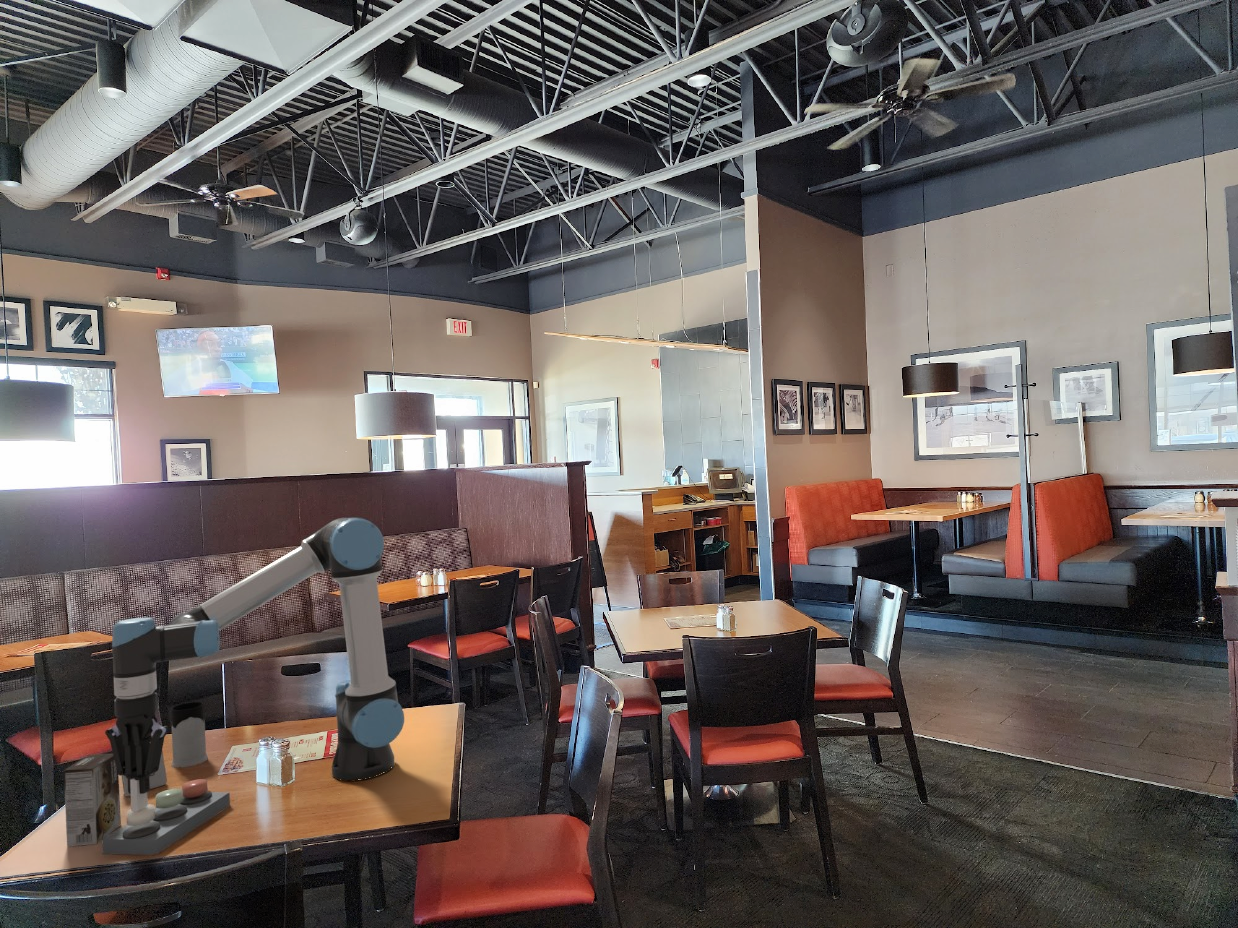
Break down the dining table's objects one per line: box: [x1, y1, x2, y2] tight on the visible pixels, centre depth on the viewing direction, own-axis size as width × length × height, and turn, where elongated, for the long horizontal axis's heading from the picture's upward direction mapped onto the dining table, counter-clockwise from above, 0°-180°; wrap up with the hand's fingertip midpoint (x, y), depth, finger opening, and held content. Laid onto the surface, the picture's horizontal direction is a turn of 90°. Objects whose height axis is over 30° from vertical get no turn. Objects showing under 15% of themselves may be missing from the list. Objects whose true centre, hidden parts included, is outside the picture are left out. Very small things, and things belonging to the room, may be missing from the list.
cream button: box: [126, 803, 156, 826], centre depth 158 cm, size 5×5×2 cm
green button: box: [155, 788, 183, 809], centre depth 166 cm, size 5×5×2 cm
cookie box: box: [63, 752, 122, 847], centre depth 164 cm, size 9×6×16 cm
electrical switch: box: [121, 750, 168, 797], centre depth 190 cm, size 9×5×9 cm, turn 141°
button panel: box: [101, 790, 231, 856], centre depth 166 cm, size 12×23×4 cm, turn 172°
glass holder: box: [170, 701, 209, 769], centre depth 210 cm, size 9×14×15 cm, turn 39°
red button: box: [181, 778, 209, 798], centre depth 174 cm, size 5×5×2 cm
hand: (139, 808), depth 158 cm, fingers closed
